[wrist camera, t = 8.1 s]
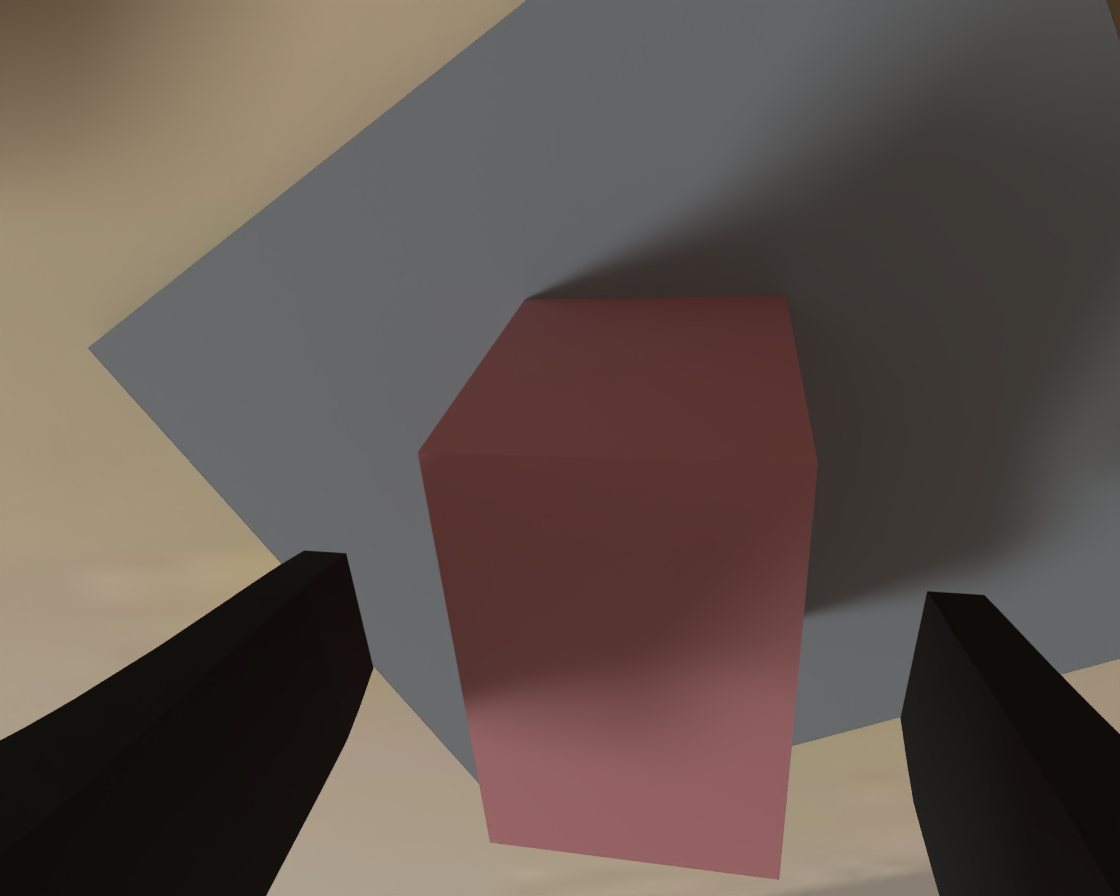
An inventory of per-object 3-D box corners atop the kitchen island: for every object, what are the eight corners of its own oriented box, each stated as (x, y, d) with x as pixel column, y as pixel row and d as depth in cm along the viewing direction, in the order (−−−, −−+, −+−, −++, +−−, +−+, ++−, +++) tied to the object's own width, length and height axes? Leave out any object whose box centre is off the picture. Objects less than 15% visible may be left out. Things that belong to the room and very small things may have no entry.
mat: (516, 806, 19) (512, 820, 19) (102, 340, 15) (87, 348, 15) (1293, 592, 13) (1309, 609, 13) (975, -349, 8) (984, -363, 8)
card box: (556, 611, 16) (490, 842, 11) (524, 299, 12) (418, 452, 8) (765, 625, 15) (779, 879, 10) (785, 295, 12) (817, 462, 7)
